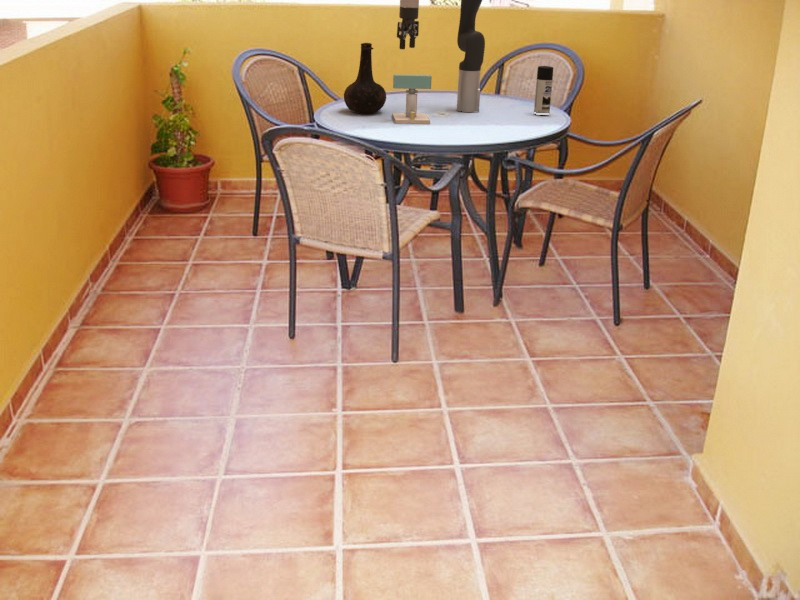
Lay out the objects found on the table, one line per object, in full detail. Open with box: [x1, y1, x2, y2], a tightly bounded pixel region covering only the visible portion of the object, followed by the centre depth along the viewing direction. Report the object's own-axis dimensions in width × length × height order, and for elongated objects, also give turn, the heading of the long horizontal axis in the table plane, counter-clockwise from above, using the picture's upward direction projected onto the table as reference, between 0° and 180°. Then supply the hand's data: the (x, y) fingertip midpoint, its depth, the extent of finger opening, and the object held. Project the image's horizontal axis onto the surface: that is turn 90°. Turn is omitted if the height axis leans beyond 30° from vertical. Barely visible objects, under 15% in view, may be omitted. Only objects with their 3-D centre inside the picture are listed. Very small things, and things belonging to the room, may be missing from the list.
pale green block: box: [392, 74, 433, 94], centre depth 337 cm, size 15×3×7 cm, turn 96°
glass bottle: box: [343, 42, 387, 115], centre depth 350 cm, size 18×18×28 cm
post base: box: [391, 93, 431, 125], centre depth 340 cm, size 14×14×10 cm
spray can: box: [533, 65, 554, 114], centre depth 358 cm, size 7×7×20 cm
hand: (407, 48), depth 341 cm, fingers open, 8 cm apart
